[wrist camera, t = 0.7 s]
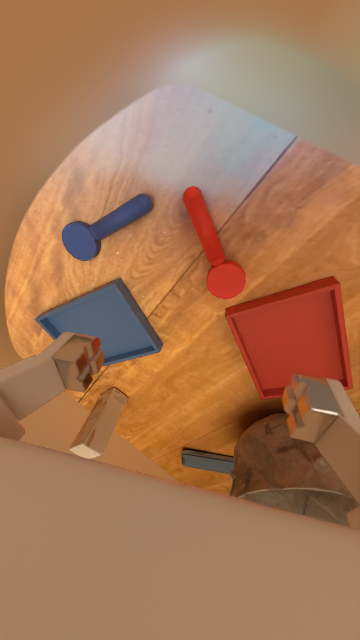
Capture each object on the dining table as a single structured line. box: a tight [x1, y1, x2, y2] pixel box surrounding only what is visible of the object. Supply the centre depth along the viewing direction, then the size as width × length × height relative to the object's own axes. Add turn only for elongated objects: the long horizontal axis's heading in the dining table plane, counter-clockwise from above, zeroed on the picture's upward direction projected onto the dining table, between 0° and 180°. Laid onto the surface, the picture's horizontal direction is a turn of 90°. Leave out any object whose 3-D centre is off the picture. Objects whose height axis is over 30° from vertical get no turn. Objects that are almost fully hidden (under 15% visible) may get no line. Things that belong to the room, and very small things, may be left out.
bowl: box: [230, 413, 359, 527], centre depth 36 cm, size 22×22×15 cm
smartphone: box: [182, 450, 234, 474], centre depth 56 cm, size 8×2×15 cm
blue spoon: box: [62, 194, 152, 261], centre depth 26 cm, size 14×5×2 cm, turn 116°
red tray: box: [225, 276, 353, 399], centre depth 31 cm, size 13×18×2 cm
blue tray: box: [35, 278, 163, 366], centre depth 36 cm, size 18×13×2 cm
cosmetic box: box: [69, 388, 128, 459], centre depth 44 cm, size 6×4×12 cm
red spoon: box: [183, 186, 246, 299], centre depth 25 cm, size 14×5×2 cm, turn 27°
